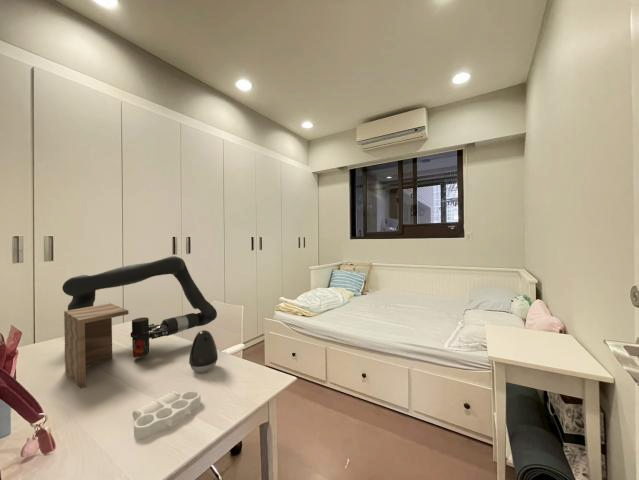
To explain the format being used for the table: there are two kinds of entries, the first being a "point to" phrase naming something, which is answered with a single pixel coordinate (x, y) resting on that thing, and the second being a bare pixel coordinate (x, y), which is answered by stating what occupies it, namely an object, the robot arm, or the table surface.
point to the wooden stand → (88, 338)
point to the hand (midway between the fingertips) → (134, 336)
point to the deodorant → (139, 328)
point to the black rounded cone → (203, 352)
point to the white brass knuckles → (164, 413)
